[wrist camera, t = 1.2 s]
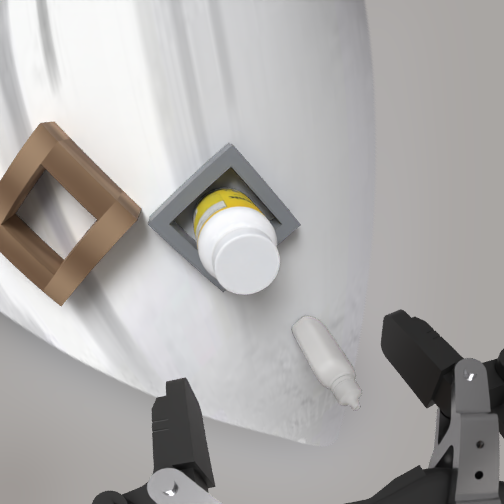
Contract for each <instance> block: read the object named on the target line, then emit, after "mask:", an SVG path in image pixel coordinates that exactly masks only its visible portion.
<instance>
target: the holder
mask: <svg viewBox="0 0 504 504" xmlns="http://www.w3.org/2000/svg"><path fill="white" fill-rule="evenodd" d="M230 167H231V168H232V169H233V170H234V171H235V172H236V173H237V174H238V175H239V176H240V178H241V179H242V180H243V181H244V182H245V183H246V184H247V185H248V187H249V188H250V189H251V190H252V191H253V192H254V193H255V194H256V196H257V197H258V198H259V199H260V200H261V201H262V202H263V204H264V205H265V206H266V207H267V208H268V209H269V210H270V212H271V213H272V214H273V215H274V216H275V218H274V219H273V220H271V221H270V223H271V224H272V226H273V228H274V230H275V233H276V237H277V245H278V244H279V243H281V242H282V241H283V240H284V239H285V238H286V237H287V236H289V235H290V234H291V233H292V232H293V231H294V230H295V229H297V228H298V227H299V226H300V225H301V224H300V223H299V222H298V221H297V219H296V218H295V217H294V216H293V215H292V213H291V212H290V211H289V210H288V208H287V207H286V206H285V205H284V204H283V202H282V201H281V200H280V199H279V198H278V196H277V195H276V194H275V193H274V192H273V191H272V189H271V188H270V187H269V186H268V185H267V183H266V182H265V181H264V180H263V179H262V178H261V176H260V175H259V174H258V173H257V172H256V171H255V169H254V168H253V167H252V166H251V165H250V164H249V162H248V161H247V160H246V159H245V158H244V157H243V156H242V154H241V153H240V152H239V151H238V150H237V149H236V148H235V147H234V145H232V144H230V143H228V144H227V145H226V146H224V147H223V148H222V149H221V150H220V151H219V152H218V153H216V154H215V155H214V156H213V157H212V158H211V159H210V160H209V161H207V162H206V163H205V164H204V165H203V166H202V167H201V168H200V169H199V170H198V171H196V172H195V173H194V174H193V175H192V176H191V177H190V178H189V179H188V180H187V181H186V182H185V183H184V184H183V185H181V186H180V187H179V188H178V189H177V190H176V191H175V192H174V193H173V194H172V195H171V196H170V197H169V198H168V199H167V200H166V201H165V202H164V203H163V204H162V205H161V206H160V207H159V208H158V209H157V210H156V211H155V212H154V213H153V214H152V215H151V216H150V217H149V221H148V225H149V226H150V227H151V228H152V229H153V230H154V231H156V232H157V233H158V234H159V235H160V236H161V237H162V238H163V239H164V240H165V241H166V242H167V243H169V244H170V245H171V246H172V247H173V248H174V249H175V250H176V251H177V252H178V253H180V254H181V255H182V256H183V257H184V258H185V259H186V260H187V261H188V262H190V263H191V264H192V265H193V266H194V267H195V268H196V269H197V270H198V271H200V272H201V273H202V274H203V275H204V276H205V277H206V278H208V279H209V280H210V281H211V282H212V283H213V284H214V285H216V286H217V287H218V288H219V289H220V290H221V291H222V292H224V291H225V290H226V289H225V288H224V287H222V285H221V284H220V283H219V282H218V280H217V279H216V278H215V277H213V276H212V275H211V274H209V273H208V272H207V270H206V269H205V268H204V266H203V264H202V263H201V260H200V257H199V254H198V248H197V243H196V241H195V240H194V239H193V238H191V237H190V236H189V235H188V234H187V233H186V232H185V231H184V230H183V229H182V228H181V227H180V226H179V225H178V224H177V223H176V222H175V221H174V219H175V218H176V217H177V216H178V215H179V214H180V213H181V212H182V211H183V210H184V209H185V208H186V207H187V206H188V205H189V204H190V203H192V202H193V201H194V200H195V199H196V198H197V197H198V196H199V195H200V194H201V193H202V192H203V191H204V190H206V189H207V188H208V187H209V186H210V185H211V184H212V183H213V182H214V181H215V180H217V179H218V178H219V177H220V176H221V175H222V174H223V173H224V172H226V171H227V170H228V169H229V168H230Z"/></svg>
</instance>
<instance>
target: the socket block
mask: <svg viewBox="0 0 504 504" xmlns="http://www.w3.org/2000/svg"><path fill="white" fill-rule="evenodd" d="M45 170H47V171H48V172H49V173H50V174H51V175H52V176H53V177H54V178H55V179H56V180H57V181H58V182H59V183H60V184H61V185H62V186H63V187H64V188H65V189H66V190H67V191H68V192H69V193H70V194H71V195H72V196H73V197H74V198H75V199H76V200H77V201H78V202H79V203H80V204H81V205H82V206H83V207H84V208H86V209H87V210H88V211H89V212H90V213H91V214H92V215H93V216H94V217H95V218H96V219H97V221H96V222H95V223H94V224H93V225H92V226H91V228H90V229H89V230H88V231H87V232H86V233H85V235H84V236H83V237H82V238H81V240H80V241H79V242H78V243H77V244H76V246H75V247H74V248H73V249H72V251H71V252H70V253H69V254H68V256H67V257H66V258H65V260H63V259H62V258H61V257H60V256H59V255H58V254H57V253H56V252H55V251H54V250H52V249H51V248H50V247H49V246H48V245H47V244H46V243H45V242H44V241H43V240H42V239H41V238H40V237H39V236H38V235H37V234H35V233H34V232H33V231H32V230H31V229H30V228H29V227H28V226H27V225H26V224H25V223H24V222H23V221H22V220H21V219H20V218H19V217H18V216H17V215H16V212H17V210H18V209H19V207H20V206H21V204H22V203H23V201H24V200H25V198H26V197H27V195H28V194H29V192H30V191H31V189H32V188H33V186H34V185H35V183H36V182H37V181H38V179H39V178H40V176H41V175H42V174H43V172H44V171H45ZM140 211H141V208H140V207H139V206H138V205H137V204H136V203H135V202H134V201H133V200H132V199H131V198H130V197H129V196H128V195H127V194H126V193H125V192H124V191H123V190H122V189H120V188H119V187H118V186H117V185H116V184H115V183H114V182H113V181H112V180H111V179H110V178H109V177H108V176H107V175H106V174H105V173H104V172H103V171H102V170H101V169H100V168H99V167H98V166H97V165H96V164H95V163H94V162H93V161H92V160H91V159H90V158H89V157H88V156H87V155H86V154H85V153H84V152H83V151H82V150H81V149H80V148H79V147H78V146H77V145H76V144H75V143H74V142H73V140H72V139H71V138H70V137H69V136H68V135H67V134H66V133H65V132H64V131H63V130H62V129H61V128H60V127H59V126H58V125H57V124H56V123H55V122H45V123H40V124H39V125H38V127H37V128H36V129H35V131H34V132H33V133H32V135H31V136H30V137H29V139H28V140H27V141H26V143H25V144H24V146H23V147H22V149H21V150H20V151H19V153H18V154H17V156H16V157H15V159H14V160H13V162H12V163H11V165H10V166H9V168H8V170H7V171H6V173H5V174H4V176H3V178H2V179H1V181H0V252H1V253H2V254H3V255H4V256H5V257H6V258H7V259H8V260H9V261H10V262H11V263H12V264H13V265H14V266H15V267H16V268H17V269H18V270H20V271H21V272H22V273H23V274H24V275H25V276H26V277H27V278H28V279H29V280H31V281H32V282H33V283H34V284H35V285H36V286H37V287H38V288H40V289H41V290H42V291H43V292H44V293H45V294H47V295H48V296H49V297H50V298H51V299H53V300H54V301H55V302H56V303H57V304H59V305H60V306H62V305H63V304H64V302H65V301H66V300H67V299H68V297H69V296H70V295H71V294H72V293H73V291H74V290H75V289H76V288H77V287H78V285H79V284H80V283H81V282H82V281H83V279H84V278H85V277H86V276H87V275H88V274H89V272H90V271H91V270H92V269H93V268H94V267H95V265H96V264H97V263H98V262H99V261H100V260H101V259H102V258H103V256H104V255H105V254H106V253H107V252H108V251H109V250H110V249H111V248H112V246H113V245H114V244H115V243H116V242H117V241H118V240H119V239H120V238H121V237H122V236H123V234H124V233H125V232H126V231H127V230H128V229H129V228H130V227H131V226H132V225H133V224H134V223H135V222H136V221H137V219H138V217H139V214H140Z"/></svg>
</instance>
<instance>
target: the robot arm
mask: <svg viewBox="0 0 504 504" xmlns="http://www.w3.org/2000/svg"><path fill="white" fill-rule="evenodd" d="M381 348H382V351H383V353H384V355H385V357H386V358H387V359H388V360H389V362H390V363H391V364H392V365H393V366H394V368H395V369H396V370H397V372H398V373H399V374H400V375H401V377H402V378H403V379H404V380H405V382H406V383H407V384H408V385H409V387H410V388H411V389H412V390H413V392H414V393H415V394H416V395H417V397H418V398H419V399H420V401H421V402H422V403H423V404H424V406H425V407H426V408H429V407H430V406H432V405H433V404H436V405H437V406H438V409H437V419H436V432H435V443H434V450H433V454H432V456H431V459H430V463H429V467H428V469H424V470H422V468H421V467H420V465H419V466H417V467H415V468H413V469H412V470H410V471H408V472H406V473H404V474H403V475H401V476H399V477H397V478H395V479H394V480H393V481H391V482H390V483H389V484H388V485H387V486H385V487H384V488H383V489H382V490H380V491H379V492H378V493H377V494H375V495H374V496H373V497H371V498H369V499H366V500H362V501H357V502H352V503H346V504H504V482H503V481H499V432H500V434H501V435H502V437H503V438H504V349H503V350H502V351H501V352H500V355H499V357H498V359H495V360H491V361H488V362H484V363H481V362H480V361H478V360H476V359H473V358H465V359H464V358H463V357H461V356H460V355H459V354H458V353H457V352H456V351H455V350H454V349H453V348H452V347H451V346H450V345H449V344H448V343H447V342H446V341H445V340H444V339H443V338H442V337H440V335H439V334H438V333H437V332H436V331H434V330H433V328H432V327H431V326H430V325H429V324H428V323H427V322H425V321H423V320H421V319H419V318H416V317H413V318H411V317H410V316H409V315H408V314H407V313H406V312H405V311H404V310H398V311H396V312H393V313H391V314H388V315H386V316H385V317H384V320H383V329H382V338H381ZM152 422H153V423H152V431H153V433H152V437H153V459H154V471H153V474H152V476H151V477H150V479H149V481H148V482H147V483H146V484H145V485H143V486H142V487H140V488H137V489H135V490H133V491H130V492H128V493H125V494H122V495H121V494H119V493H118V492H115V491H105V492H102V493H100V494H99V495H97V496H96V497H95V499H94V500H93V503H92V504H222V503H221V502H219V501H218V500H217V499H215V498H214V497H213V496H211V495H210V494H209V493H208V488H211V487H215V483H214V478H213V473H212V468H211V463H210V457H209V452H208V447H207V442H206V436H205V430H204V424H203V418H202V413H201V409H200V406H199V403H198V401H197V399H196V397H195V395H194V393H193V391H192V389H191V387H190V384H189V382H188V380H187V379H186V378H181V379H176V380H172V381H167V382H166V396H163V397H158V398H156V401H155V403H154V405H153V408H152Z"/></svg>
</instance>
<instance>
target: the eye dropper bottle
mask: <svg viewBox="0 0 504 504" xmlns="http://www.w3.org/2000/svg"><path fill="white" fill-rule="evenodd" d="M292 332H293V335H294V337H295V338H296V340H297V342H298V344H299V346H300V348H301V350H302V351H303V353H304V355H305V357H306V359H307V361H308V363H309V364H310V366H311V368H312V370H313V372H314V373H315V375H316V377H317V379H318V380H319V381H320V383H321V384H322V385H324V386H325V387H326V388H328V389H330V390H332V392H333V394H334V396H335V397H336V399H337V401H338V403H339V404H340V405H341V406H347V405H349V406H350V407H351V408H352V409H353V410H354V411H356V410H358V409H360V407H361V406H360V403H359V400H358V399H359V398H360V396H361V394H362V390H361V388H360V387H359V385H358V384H357V382H356V381H355V377H356V374H355V370H354V368H353V366H352V364H351V363H350V361H349V360H348V358H347V357H346V355H345V354H344V352H343V351H342V350H341V348H340V347H339V345H338V344H337V342H336V341H335V339H334V338H333V336H332V335H331V333H330V332H329V330H328V329H327V328H326V326H325V325H324V324H323V323H322V322H321V321H319V320H318V319H316V318H314V317H310V316H304V317H302V318H301V319H300V320H298V321H297V322H296V323H295V324H294V325H293V326H292Z"/></svg>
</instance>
